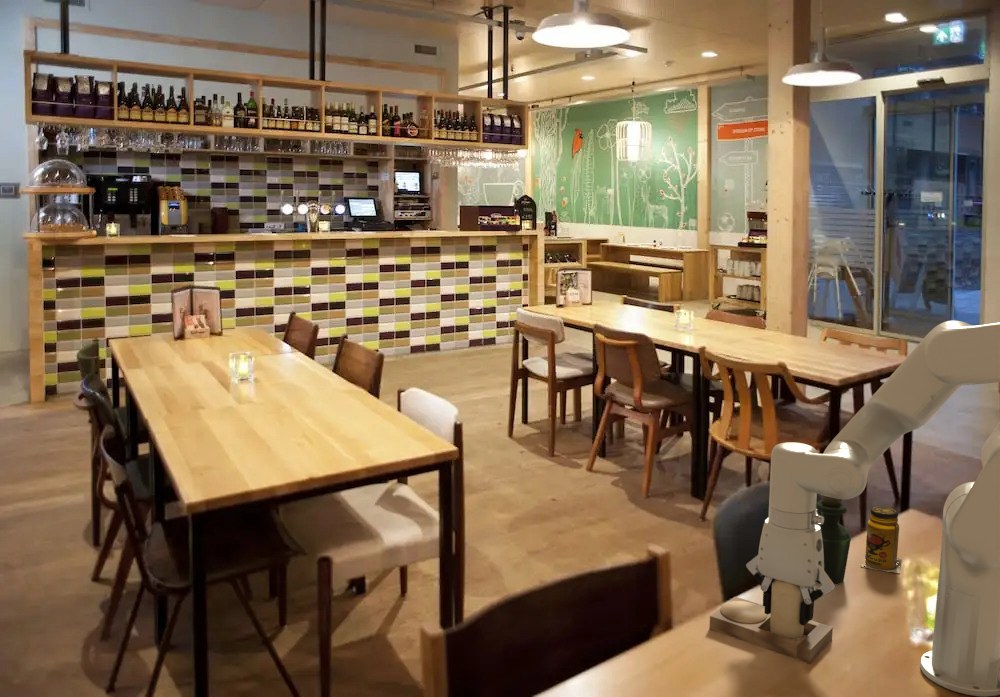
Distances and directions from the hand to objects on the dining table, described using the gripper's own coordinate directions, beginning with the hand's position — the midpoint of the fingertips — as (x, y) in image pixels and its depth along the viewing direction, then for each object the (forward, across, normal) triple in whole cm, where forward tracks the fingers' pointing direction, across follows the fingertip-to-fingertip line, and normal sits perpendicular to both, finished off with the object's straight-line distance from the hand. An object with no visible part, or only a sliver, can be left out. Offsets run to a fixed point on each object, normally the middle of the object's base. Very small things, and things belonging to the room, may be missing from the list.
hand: (787, 615), depth 148 cm
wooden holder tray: (+4, +3, 0) cm, 5 cm away
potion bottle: (+5, +4, -29) cm, 30 cm away
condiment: (+5, -2, -44) cm, 45 cm away
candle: (+3, 0, 0) cm, 3 cm away
